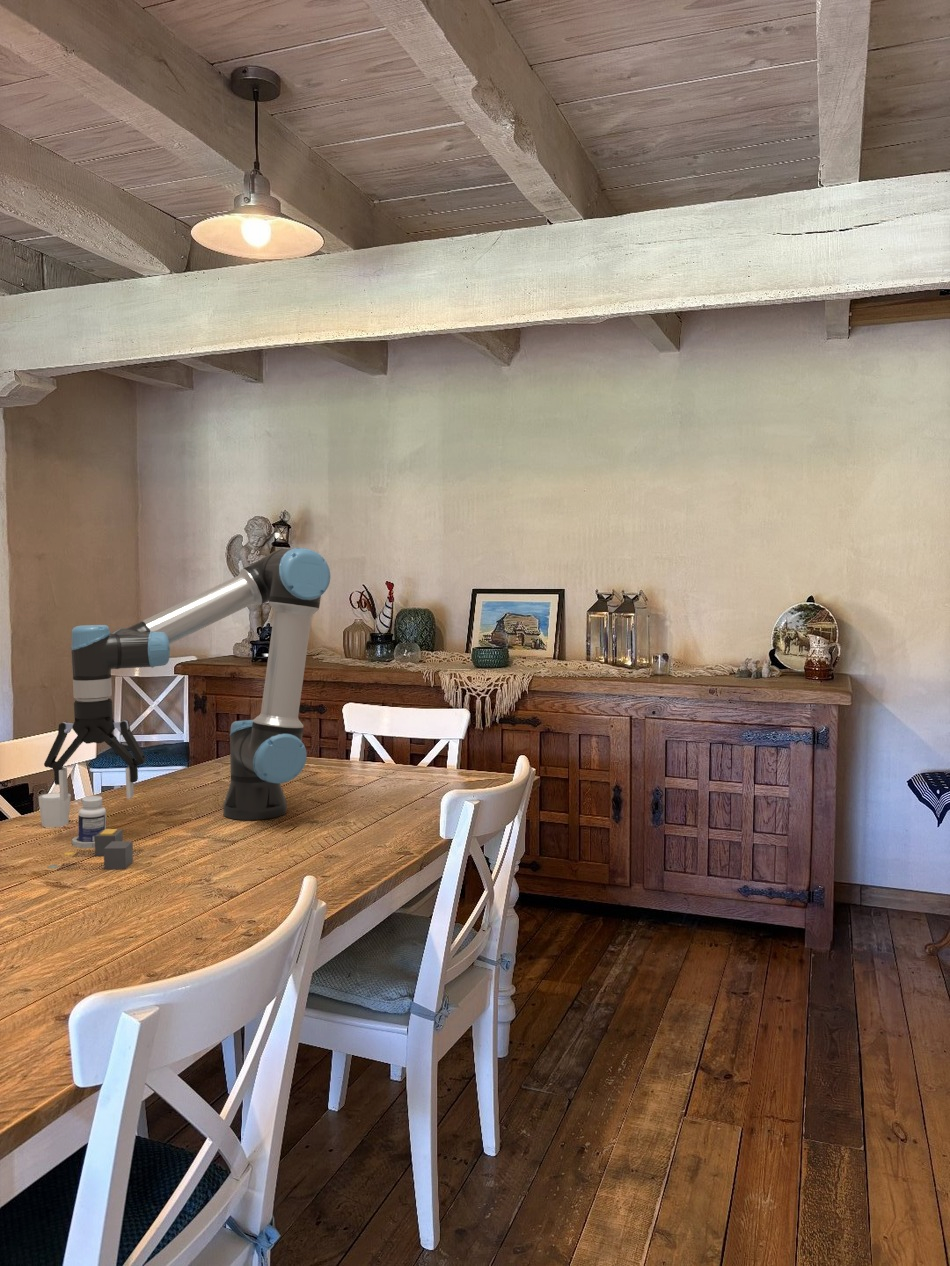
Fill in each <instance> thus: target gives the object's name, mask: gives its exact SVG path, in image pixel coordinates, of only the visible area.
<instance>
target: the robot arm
mask: <svg viewBox="0 0 950 1266" xmlns="http://www.w3.org/2000/svg"><path fill="white" fill-rule="evenodd" d="M330 582H331V571H330V568H329V565H328V562H327V561H326V559H325V558H324V557H323V556H322V554H320V553H319V552H317V551H315V550H312V549H308V548H304V547H295V548H288V549H287V548H285V549H279V550H276V551H273V552H271V553H269V554H267V555H265V556H263V557H262V558H260V559H259V560H257V561H255V562H253V563H252V564H250V565H248V566H245V567H243V568H241V569H240V570H239V574H238V575H237V576H234V577H232V578H230V579H228V580H226V581H224V582H222V583H220V584H218V585H215V586H214V587H211V588H209V589H207V590H205V591H203V592H200V593H199V594H197V595H194V596H192V597H190V598H188V599H186V600H183V601H181V602H179V603H177V604H175V605H173V606H171V607H169V608H167V609H164V610H163V611H161V612H159V613H157V614H154V615H152V616H150V617H148V618H145V619H143V620H142V621H139V622H137V623H135V624H134V625H133V624H132V625H131V626H128V627H127V628H125V627H124V628H120V629H117V630H116V631H114V632H113V633H111V631H110V627H109V626H108V625H106V624H88V625H87V624H86V625H85V624H83V625H76V626H74V627H73V628H72V630H71V644H70V645H71V646H70V650H71V665H72V666H71V667H72V669H71V670H72V671H71V672H72V686H73V687H72V689H73V690H72V692H73V698H74V699H75V700H74V702H73V714H74V715H73V716H74V722H73V723H72V722H71V723H70V722H68V721H66V720H65V721H63V722H61V723H59V724H58V729H57V731H58V733H57V735H56V738H55V740H54V742H53V744H52V745H51V749H50V750H49V752H48V755H47V757H46V758H45V761H44V763H43V766H44V767H45V768H49V769H52V770H53V773H54V774H53V775H54V784H55V785H56V786H58V785H59V793H60V801H65V800H66V799H68V793H69V787H68V786H69V785H68V784H69V783H68V768H67V767H64V766H65V764H66V763H67V762H68V761H69V759H70V758H71V757H72V756H73V754H74V753H75V752H76V751H77V750H78V748H79V747H80V746H81V745H82V744H83V743H85V744H87V745H88V744H93V743H94V744H102V743H105V744H107V745H108V746H109V747H110V748H111V749H112V750H113V751H114V752H115V753H116V754H117V755H118V756H119V757H120V758H121V759H122V760H123V761H124V763H126V764H127V767H126V768H125V770H124V771H125V787H126V788H125V791H126V799H127V800H132V798H133V797H135V791H134V790H135V789H134V788H135V787H134V783H137V781H138V780H139V774H138V773H139V772H138V767H139V765H143V764H144V763H145V762H146V761H147V757H146V756H145V754H144V752H143V750H142V748H141V747H140V745H139V743H138V741H137V740H136V738H135V736H134V733H132V731H131V727H130V722H129V720H128V719H124V720H122V721H114V716H113V715H114V711H113V709H114V708H113V699H112V698H110V697H111V696H112V695H113V692H112V691H113V690H112V688H113V686H112V684H113V683H112V670H119V669H135V668H136V669H138V668H139V669H140V668H152V669H153V668H155V667H162V666H163V667H164V666H166V665H167V664H168V663H169V661H170V658H171V657H170V655H171V648H170V646H171V644H173V643H175V642H177V641H180V640H182V639H183V638H185V637H188V636H189V635H191V634H194V633H196V632H198V631H199V630H202V629H204V628H207V627H208V626H211V625H212V624H214V623H216V622H218V621H221V620H223V619H225V618H226V617H229V616H231V615H233V614H235V613H237V612H240V611H241V610H243V609H244V608H247V607H249V606H252V605H256V606H261V605H263V604H265V603H268V604H269V606H270V607H271V608H272V609H273V611H274V613H273V620H272V626H271V627H272V628H271V635H270V641H269V649H268V655H267V657H268V658H267V662H266V663H267V664H266V670H265V671H266V672H265V680H264V686H263V687H264V688H263V693H262V694H263V695H262V701H261V708H260V712H259V713H260V714H259V715H257V716H255V718H254V719H247V720H246V719H245V720H236V721H233V722H232V723H231V725H230V733H229V739H230V741H229V742H230V749H229V750H230V752H229V753H230V783H229V787H228V789H227V792H226V796H225V800H224V802H223V807H222V809H223V810H222V814H223V816H224V817H225V818H228V819H233V820H240V821H259V820H268V819H273V818H278V817H281V816H283V815H285V814H286V813H287V810H288V809H287V800H286V797H285V795H284V794H285V793H284V790H283V788H282V785H281V784H284V783H288V782H290V781H292V780H293V779H295V778H297V777H298V776H299V775H300V774H301V772H302V771H303V770H304V767H305V765H306V762H307V755H308V754H307V749H306V746H305V743H303V741H302V740H303V734H304V733H303V732H304V724H303V723H302V722H301V720H300V719H299V714H300V713H299V712H300V706H301V705H300V704H301V698H302V689H303V684H304V675H305V668H306V660H307V654H308V653H307V652H308V646H309V645H308V644H309V636H310V630H311V624H312V623H311V622H312V617H313V615H315V614H316V613H318V611H320V605H321V598H322V596H323V594H325V592H326V591H327V590H328V588H329V585H330ZM115 729H117V731H118V732H120V733H121V736H122V737H123V740H125V743H126V744H127V746H128V748H129V750H130V751H131V753H130V751H128V750H127V748H125V746H124V745H123V744H122V743H121V742H120V741H119V740H118V738H117V737H116V736H115V734H114V733H113V732H114V730H115ZM72 730H73V731H74V733H75V734H76V735H77V736H76V737H75V738H74V740H72V742H71V744H70V745H69V746H68V747H67V749H66V750H65V751H64V752H63V753H62V755H61V756H60V757H59V758H58V760H57V757H58V755H59V754H60V751H61V750H62V747H63V745H64V743H65V741H66V738H67V736H68V734H69V733H70V732H72ZM56 760H57V761H56Z"/></svg>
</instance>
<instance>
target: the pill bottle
mask: <svg viewBox="0 0 950 1266" xmlns="http://www.w3.org/2000/svg"><path fill="white" fill-rule="evenodd" d="M81 801H82V802H81V804H82V805H81V806H82V807H81V808H80V809H78V836H79V841H80V842H95V836H96V835H97V834H98V833H99V832H101V831H102V830H105V829H107V810H106V808H105V807H104V806H103V803H104V802H103V797H102V796H100V795H89V796H84V797H82V800H81Z"/></svg>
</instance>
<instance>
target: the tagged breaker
mask: <svg viewBox="0 0 950 1266" xmlns="http://www.w3.org/2000/svg"><path fill="white" fill-rule="evenodd" d="M123 837H124V836H123V829H117V828H106V829H105V830H102V831H101V832H99V833H98V834H97V835H96V836H95V848H94V853H95V854H94V855H95V856H96V857H97V856H104V848H105V847H106V846H107V845H108V844H110V843H111V842H112V841H124V838H123Z"/></svg>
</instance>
